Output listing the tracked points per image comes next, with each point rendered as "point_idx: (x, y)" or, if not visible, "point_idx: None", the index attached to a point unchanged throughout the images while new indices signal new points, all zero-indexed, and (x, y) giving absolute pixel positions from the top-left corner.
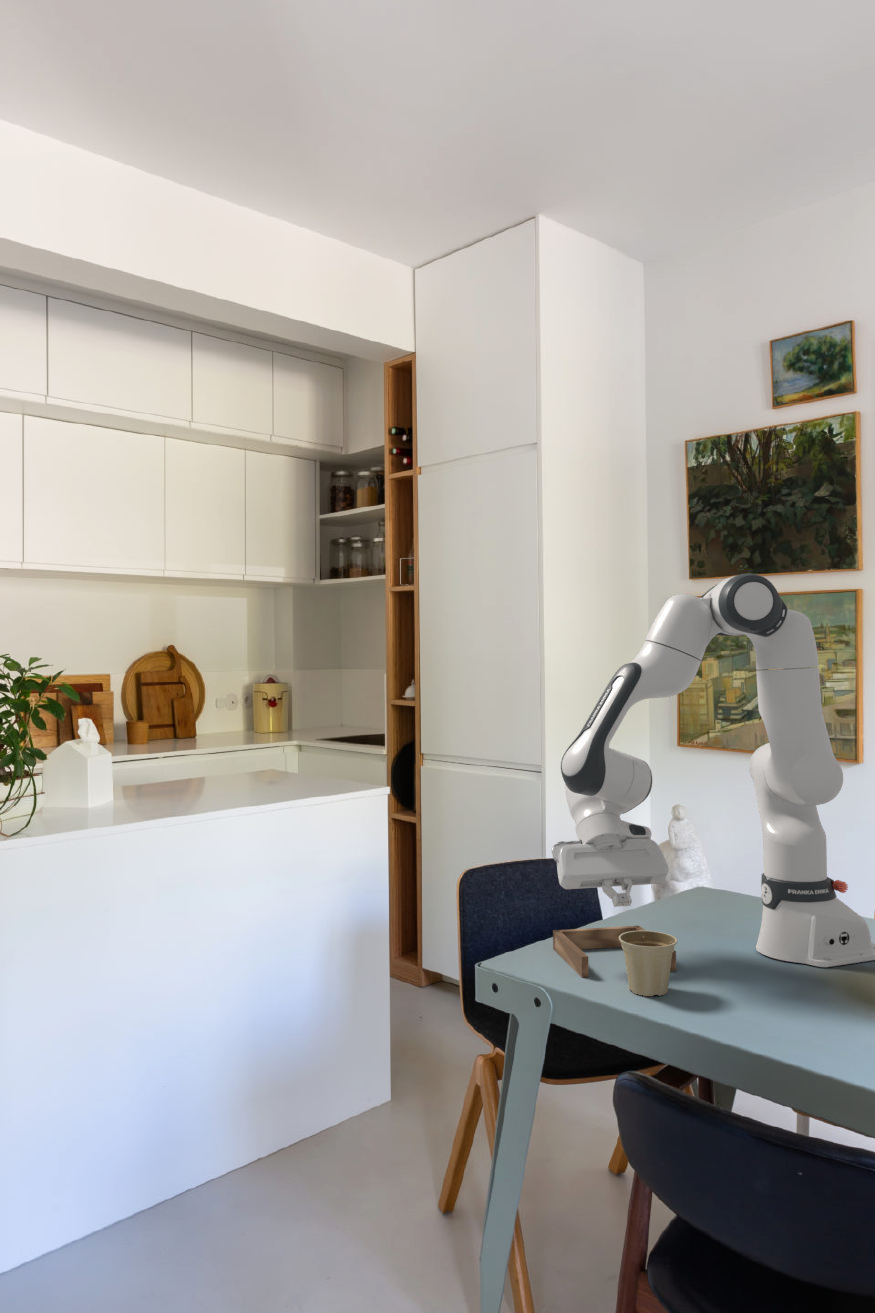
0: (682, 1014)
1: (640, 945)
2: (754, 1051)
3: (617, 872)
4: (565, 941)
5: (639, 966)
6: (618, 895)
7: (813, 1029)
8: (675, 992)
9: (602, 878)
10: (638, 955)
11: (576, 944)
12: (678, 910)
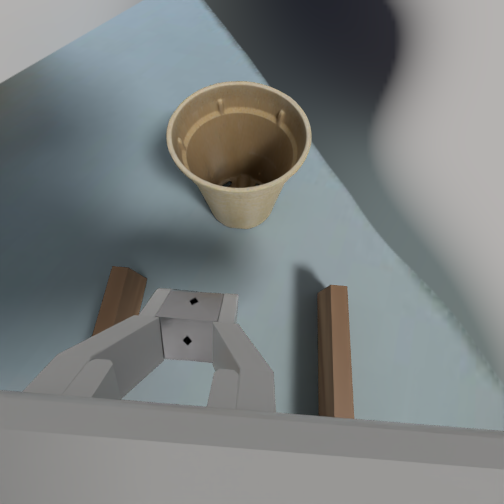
0: None
1: (230, 200)
2: (225, 33)
3: (110, 438)
4: None
5: (274, 144)
6: (212, 311)
7: (123, 54)
8: None
9: (300, 414)
10: (281, 121)
11: None
12: None
